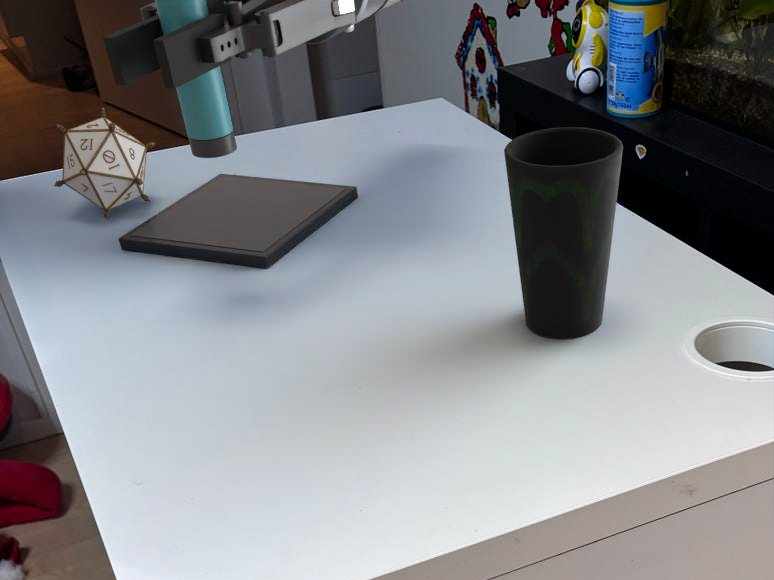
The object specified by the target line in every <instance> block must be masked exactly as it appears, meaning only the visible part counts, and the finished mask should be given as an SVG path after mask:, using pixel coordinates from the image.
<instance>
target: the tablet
mask: <svg viewBox="0 0 774 580" xmlns="http://www.w3.org/2000/svg"><path fill="white" fill-rule="evenodd" d="M358 194H359V193H358V188H357V186H353V185H344V184H343V185H342V184H333V183H322V182H313V181H303V180H302V181H301V180H293V179H292V180H291V179H283V178H281V179H280V178H272V177H271V178H270V177H261V176H249V175H239V174H230V173H219V174H218V175H216V176H214V177H213V178H211V179H209V180H208V181H206V182H205V183H204V184H201V185H200V186H199V187H197V188H196V189H194V190H192V191H191V192H189V193H187V194H186V195H184V196H183V197H181V198H179V199H178V200H177V201H175V202H173V203H171V204H170V205H169V206H167V207H166V208H164V209H162V210H161V211H159V212H158V213H156V214H155V215H153V216H152V217H150V218H148V219H147V220H145V221H144V222H142V223H140V224H139V225H137V226H136V227H134V228H133V229H131V230H130V231H128V232H126V233H125V234H123V235H121V236H119V237H118V238H117V239H118V243H119V246H120V249H121V250H123V251H129V252H137V253H138V252H139V253H145V254H154V255H160V256H168V257H176V258H184V259H191V260H198V261H199V260H200V261H208V262H213V263H214V262H215V263H222V264H231V265H237V266H245V267H253V268H261V269H270V268H271V266H273V265H275V263H277V262H279V260H281V259H282V258H283V257H284V256H285V255H287V254H288V253H290V252H291V251H292V250H294V248H296V247H297V246H298V245H300V244H301V243H302V242H304V241H305V240H306V239H307V238H309V237H310V236H311V235H312V234H313V233H315V232H316V231H318V230H319V229H320V228H321V227H322V226H324V225H325V224H326V223H328V222H329V221H330V220H331V219H333V218H334V217H335V216H337V215H338V214H339V213H340V212H342V211H343V210H344V209H346V207H348V206H349V205H350V204H352V203H353V202H354V201H355V200H357V199H358V198H359V195H358Z"/></svg>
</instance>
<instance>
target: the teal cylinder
mask: <svg viewBox="0 0 774 580" xmlns="http://www.w3.org/2000/svg"><path fill="white" fill-rule="evenodd" d="M154 2H155V3H156V7H157V11H158V15H159V19H160V23H161V27H162V31H163V35H166V34H168V33H170V32H172V31H175V30H177V29H179V28H182V27H184V26H186V25H188V24H191V23H193V22H195V21H197V20H200V19H202V18H205V17H207V16H209V13H208V8H207V3H206V0H154ZM221 69H222V68H221V66H219V67H217V68H215V69H213V70H211V71H209V72H207V73H205V74H203V75H201V76H199V77H197V78H195V79H193V80H191V81H189V82H187V83H185V84H183V85H181V86H179V87H177V88H175V90H176V94H177V98H178V102H179V105H180V110H181V113H182V114H181V115H182V118H183V122H184V126H185V130H186V134H187V138H188V142H189V147H190V151H191V154H192V156H194V157H196V158H199V159H200V158H201V159H215V158H220V157H225V156H228V155H230V154H232V153H234V152H236V150H237V148H238V146H237V145H238V144H237V140H236V135H235V131H234V126H233V121H232V117H231V112H230V107H229V103H228V98H227V97H228V96H227V93H226V89H225V84H224V79H223V75H222V70H221Z"/></svg>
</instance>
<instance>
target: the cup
mask: <svg viewBox="0 0 774 580" xmlns="http://www.w3.org/2000/svg"><path fill="white" fill-rule="evenodd" d="M623 151H624V145H623V143H622V140H620V138H618V137H617V136H616V135H615V134H612V133H610V132H608V131H604V130H600V129H596V128H589V127H578V126H576V127H575V126H568V127H565V126H564V127H563V126H562V127H552V128H543V129H539V130H535V131H534V130H533V131H531V132H528V133H524V134H521V135H519V136H517V137H515V138H512V140H510V142H508V143H507V144H506V145H505V147H504V149H503V152H504V160H505V168H506V169H505V170H506V176H507V185H508V192H509V193H508V194H509V200H510V201H509V202H510V208H511V218H512V225H513V231H514V240H515V248H516V256H517V264H518V272H519V281H520V288H521V296H522V304H523V312H524V320H525V326H526V327H527V329H528V330H529V331H530V332H531V333H533V334H536V335H537V336H540V337H543V338H548V339H555V340H559V339H560V340H562V339H563V340H564V339H567V340H568V339H575V338H581V337H583V336H587V335H589V334H591V333H593V332H595V331H596V330H598V329H599V328H600V326H601V325H602V323H603V318H604V317H603V316H604V308H605V301H606V291H607V283H608V276H609V268H610V260H611V259H610V258H611V251H612V250H611V249H612V242H613V233H614V225H615V218H616V211H617V201H618V191H619V185H620V178H621V177H620V176H621V168H622V160H623V159H622V158H623Z"/></svg>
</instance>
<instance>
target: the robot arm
mask: <svg viewBox="0 0 774 580" xmlns="http://www.w3.org/2000/svg"><path fill="white" fill-rule="evenodd" d="M403 1H404V0H206V3H207V8H208V13H209V16H207V17H205V18H202V19H200V20H197V21H195V22H193V23H191V24H188V25H186V26H184V27H182V28H179V29H177V30H175V31H172V32H170V33H168V34H166V35H163V31H162V27H161V23H160V19H159V15H158V11H157V7H156V3H155V1H153V2H151V3H149V4H146V5H144V6H143V7H141V8H140V9H139V11H140V14H141V18H142V20H141V21H139V22H137V23H134V24H132V25H130V26H127V27H125V28H122V29H119V30H117V31H115V32H113V33H110V34H108V35H106V36H103V37H102V39H103V42H104V46H105V50H106V54H107V58H108V62H109V65H110V69H111V72H112V75H113V79H114V83H115V85H117V86H127V85H129V84H131V83H133V82H136V81H137V80H140V79H142V78H144V77H146V76H148V75H150V74H152V73H154V72H156V71H158V70H160V74H161V78H162V82H163V86H164V89H171V90H172V89H175V90H176V88H177V87H179V86H181V85H183V84H185V83H187V82H189V81H191V80H193V79H195V78H197V77H199V76H201V75H203V74H205V73H207V72H209V71H211V70H213V69H215V68H217V67H219V66H220V67H221V66H223V65H224V64H227V63H230V62H231V61H232V57H235V58H237V59H243V60H244V59H248V58H250V57H251V56H253V55H254V54H256V53H257V52H259V51H260V50H261V51H260V52H261V55H262V57H268V58H275V57H276V56H278V55H281V54H283V53H286V52H287V51H290V50H291V49H294V48H296V47H298V46H300V45H302V44H306V45H317V44H322V43H324V42H327V41H328V40H331V39H332V38H333V37H335V36H337V35H339V34H341V33H343V32H345V33H352V32H354V31H355V25H357V24H358V23H360V22H361V21H363V20H365V19H367V18H369V17H372V16H373V15H375V14H377V13H378V12H380V11H382V10H385V9H386V8H388V7H391V6H392V5H394V4H396V3H399V2H403Z"/></svg>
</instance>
